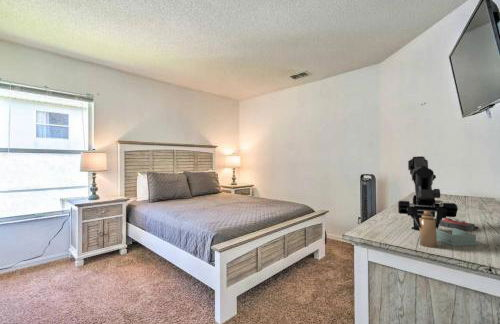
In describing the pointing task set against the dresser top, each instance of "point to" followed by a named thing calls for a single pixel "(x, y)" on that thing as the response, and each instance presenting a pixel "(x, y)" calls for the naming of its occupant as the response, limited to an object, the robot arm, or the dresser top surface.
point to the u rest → (457, 238)
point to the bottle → (428, 230)
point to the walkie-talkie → (457, 224)
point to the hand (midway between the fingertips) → (428, 227)
